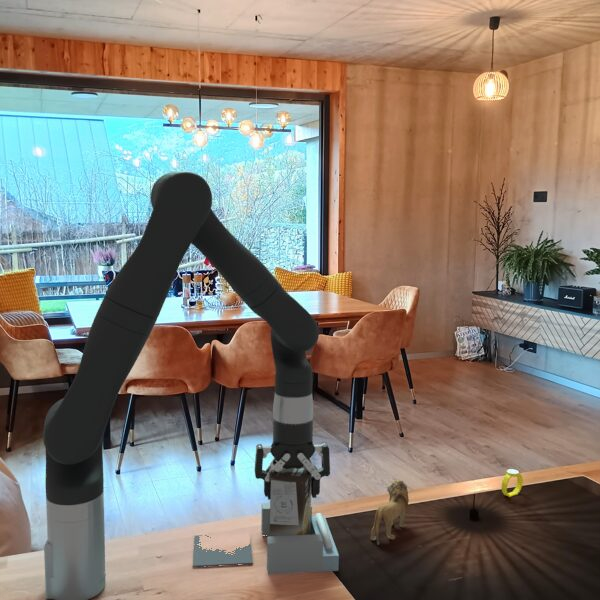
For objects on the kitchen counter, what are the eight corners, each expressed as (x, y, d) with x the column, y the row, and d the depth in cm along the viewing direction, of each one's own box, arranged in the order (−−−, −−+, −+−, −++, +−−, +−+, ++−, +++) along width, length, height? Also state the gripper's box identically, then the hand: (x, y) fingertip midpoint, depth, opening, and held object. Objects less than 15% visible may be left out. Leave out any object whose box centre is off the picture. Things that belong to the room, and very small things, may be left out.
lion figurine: (387, 513, 142) (389, 474, 140) (411, 518, 140) (413, 479, 138) (366, 544, 128) (368, 502, 127) (392, 551, 126) (394, 507, 125)
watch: (508, 501, 150) (508, 477, 149) (498, 496, 152) (499, 472, 151) (525, 493, 153) (525, 470, 152) (515, 489, 155) (516, 466, 154)
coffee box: (301, 565, 120) (303, 483, 118) (268, 560, 122) (269, 479, 119) (310, 540, 129) (312, 464, 127) (279, 536, 131) (281, 460, 128)
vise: (267, 574, 117) (268, 543, 116) (261, 530, 133) (261, 503, 132) (338, 570, 119) (339, 540, 118) (323, 528, 134) (324, 500, 134)
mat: (192, 567, 119) (192, 565, 119) (194, 537, 129) (194, 535, 129) (252, 564, 120) (252, 562, 120) (249, 535, 131) (249, 533, 131)
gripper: (256, 423, 117) (256, 507, 119) (334, 421, 119) (331, 504, 121) (254, 410, 124) (253, 490, 127) (327, 408, 126) (325, 487, 129)
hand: (291, 497), depth 124 cm, fingers open, 8 cm apart
